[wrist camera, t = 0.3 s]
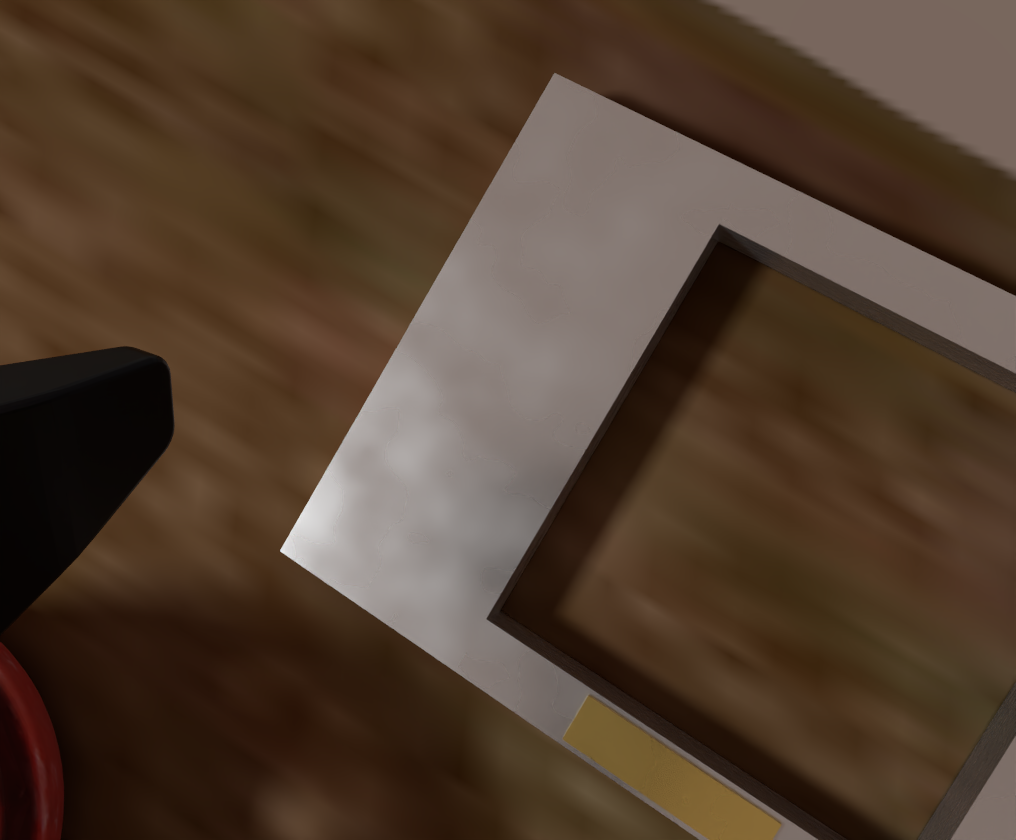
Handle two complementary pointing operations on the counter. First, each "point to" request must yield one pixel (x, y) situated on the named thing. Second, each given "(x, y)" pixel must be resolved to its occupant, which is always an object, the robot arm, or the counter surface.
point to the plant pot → (27, 759)
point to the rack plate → (601, 427)
